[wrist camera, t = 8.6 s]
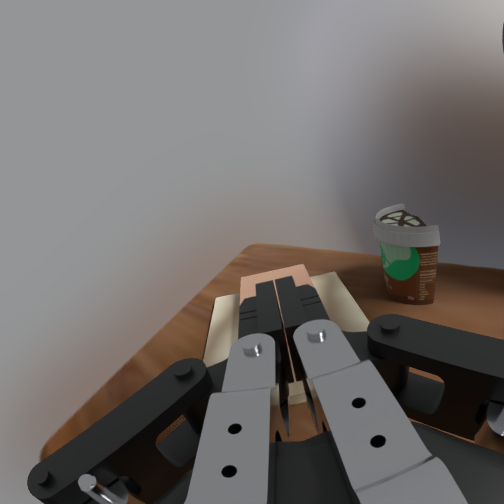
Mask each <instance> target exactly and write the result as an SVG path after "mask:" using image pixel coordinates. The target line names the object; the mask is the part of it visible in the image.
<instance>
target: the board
mask: <svg viewBox="0 0 504 504" xmlns="http://www.w3.org/2000/svg"><path fill="white" fill-rule="evenodd" d="M310 279H311V281H312V283H313V285H314V287H315V288H316V291H317V293H318V295H319V297H320V299H321V301H322V303H323V305H324V307H325V310H326V312H327V314H328V316H329V318H330V321H332V322H334V323H336V324H337V325H338V327H339V328H340V330H342V331H347V332H362V331H367V327H368V325H369V323H370V322H369V321H368V319H367V318H366V316H365V315H364V313H363V312H362V311H361V309H360V308H359V306H358V305H357V303H356V302H355V300H354V299H353V297H352V296H351V294H350V293H349V292H348V290H347V289H346V287H345V286H344V284H343V283H342V282H341V280H340V279H339V277H338V276H337V274H336V273H335V272H330V273H326V274H322V275H318V276H314V277H310ZM239 306H240V293H237V294H232V295H227V296H222V297H218V298H216V300H215V305H214V310H213V315H212V320H211V324H210V329H209V334H208V339H207V344H206V349H205V354H204V360H203V362H204V363H205V365H206V367H209V366H212V365H214V364H217V363H219V362H222V361H224V360H225V359H227V358H228V357H229V352H230V348H231V346H232V345H233V344H234V343H235V342H236V341H237V340H238V328H239ZM287 346H288V343H287ZM288 351H289V346H288ZM289 356H290V361H291V367H292V372H293V377H294V382H293V383H289V384H288V385H289V399H290V405H293V404H298V403H302V402H307V401H306V397H305V392H304V387H303V382H302V381H297V382H296V378H295V373H294V369H293V364H292V360H291V355H290V351H289Z"/></svg>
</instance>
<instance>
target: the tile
mask: <svg viewBox="0 0 504 504" xmlns="http://www.w3.org/2000/svg"><path fill="white" fill-rule="evenodd" d="M291 275H292V277H293V279H294V282H295V285H296V287H297V286H301V285H305V284H309V285H310V286H312V287H314V285H313V283H312V281H311V279H310V277H309V275H308V272H307V270H306V268H305V266H304V264H300V265H296V266H291V267H287V268H283V269H278V270H274V271H269V272H265V273H260V274H256V275H251V276H246V277H242V278H241V289H240V305H241V303H242V302H243V300H244V299H245V298H249V297H253V296H256V288H255V284H257V283H262V282H266V281H270V280H273V282H274V286H275V290H276V295H277V299H278V294H277V289H276V284H275V279H279V278H283V277H287V276H291ZM314 288H315V287H314ZM321 302H322V301H321ZM278 303H279V299H278ZM279 308H280V304H279ZM324 308H325V307H324ZM280 312H281V309H280ZM281 316H282V314H281ZM282 321H283V319H282ZM283 325H284V324H283ZM284 330H285V329H284ZM285 336H286V333H285ZM286 341H287V338H286ZM287 343H288V342H287Z"/></svg>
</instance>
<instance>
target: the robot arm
mask: <svg viewBox="0 0 504 504" xmlns="http://www.w3.org/2000/svg"><path fill="white" fill-rule="evenodd" d="M503 51H504V24H503ZM275 284H276V289H277V294H278V299H279V303H278V299H277V295H276V290H275V286H274V282H273V280H270V281H266V282H262V283H257V284H255V288H256V296H253V297H249V298H245V299H244V300H243V302H242V303H241V305H240V306H239V328H238V340H237V341H236V342H235V343H234V344H233V345H232V346H231V348H230V352H229V357H228V358H227V359H225V360H224V361H222V362H219V363H217V364H214V365H212V366H209V367H206V365H205V363H204V362H203V361H201V360H199V359H195V358H189V359H184V360H180V361H178V362H176V363H174V364H172V365H171V366H170V367H168V368H167V369H166V370H165V371H163V372H162V373H161V374H160V375H158V376H157V377H156V378H154V379H153V380H152V381H151V382H149V383H148V384H147V385H145V386H144V387H143V388H142V389H140V390H139V391H138V392H136V393H135V394H134V395H132V396H131V397H130V398H128V399H127V400H126V401H125V402H123V403H122V404H121V405H119V406H118V407H117V408H115V409H114V410H113V411H111V412H110V413H109V414H107V415H106V416H104V417H103V418H102V419H100V420H99V421H98V422H96V423H95V424H94V425H92V426H91V427H89V428H88V429H87V430H85V431H84V432H83V433H81V434H80V435H78V436H77V437H76V438H74V439H73V440H71V441H70V442H69V443H67V444H66V445H64V446H63V447H62V448H60V449H59V450H57V451H56V452H54V453H53V454H51V455H50V456H49V457H47V458H46V459H44V460H43V461H41V462H40V463H38V464H37V465H36V466H35V467H34V468H33V469H32V470H31V472H30V474H29V476H28V481H27V485H28V489H29V491H30V493H31V494H32V495H33V496H35V497H36V498H37V499H38V500H40V501H41V502H42V503H44V504H504V340H502V339H497V338H493V337H489V336H484V335H480V334H476V333H471V332H467V331H463V330H459V329H454V328H450V327H446V326H442V325H438V324H434V323H430V322H426V321H421V320H417V319H413V318H409V317H405V316H402V315H396V314H388V315H383V316H380V317H377V318H375V319H374V320H372V321H371V322H370V323H369V325H368V327H367V331H362V332H347V331H342V330H340V328H339V327H338V325H337V324H336V323H334V322H332V321H330V318H329V316H328V314H327V312H326V310H325V308H324V305H323V303H322V302H321V299H320V297H319V295H318V293H317V291H316V288H314V287H312V286H310V285H309V284H305V285H301V286H297V287H296V285H295V282H294V279H293V277H292V275H291V276H287V277H283V278H279V279H275ZM279 304H280V308H279ZM280 309H281V312H280ZM281 314H282V316H281ZM282 319H283V321H282ZM283 324H284V325H283ZM284 329H285V330H284ZM285 333H286V336H285ZM286 338H287V341H286ZM287 342H288V346H289V351H290V355H291V360H292V364H293V369H294V373H295V378H296V382H297V381H302V382H303V387H304V392H305V397H306V401H307V404H308V407H309V410H310V413H311V416H312V419H313V422H314V425H315V428H316V431H317V434H318V435H317V436H314V437H312V438H310V439H307V440H305V441H300V442H292V433H291V410H290V399H289V385H288V384H289V383H293V382H294V377H293V372H292V367H291V361H290V356H289V351H288V346H287ZM409 367H412V368H415V369H418V370H422V371H425V372H428V373H431V374H434V375H437V376H439V377H440V378H441V379H442V380H443V381H444V383H442V382H439V381H435V380H432V379H429V378H426V377H423V376H420V375H417V374H414V373H411V372H409ZM182 414H183V415H184V417H185V418H186V420H185V421H184V422H183V423H182V424H181V425H180V426H179V427H178V428H176V429H175V430H174V431H173V432H172V433H171V434H170V435H168V436H167V437H166V438H165V439H164V440H163V441H161V442H160V443H159V444H158V445H156V444H155V442H156V438H157V437H158V435H159V434H160V433H161V432H162V431H164V430H165V429H166V428H167V427H168V426H169V425H171V424H172V423H173V422H174V421H175V420H176V419H177V418H179V417H180V416H181V415H182ZM407 417H408V418H411V419H413V420H416V421H419V422H421V423H424V424H427V425H429V426H432V427H435V428H437V429H440V430H443V431H446V432H449V433H452V434H455V435H458V436H461V437H464V438H467V439H470V440H473V441H475V444H474V443H471V442H468V441H465V440H463V439H460V438H457V437H455V436H452V435H450V434H447V433H444V432H442V431H439V430H437V429H434V428H432V427H429V426H427V425H424V424H420V423H416V422H410V421H409V419H408V418H407Z"/></svg>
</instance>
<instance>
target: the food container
mask: <svg viewBox="0 0 504 504" xmlns="http://www.w3.org/2000/svg"><path fill="white" fill-rule="evenodd" d="M373 234H374V236H375V237H376V238H377V239H378V240H379V241H380V247H381V254H382V261H383V269H384V277H385V285H386V292H387V294H388V295H389V296H390V297H391V298H393V299H394V300H396V301H399V302H402V303H405V304H411V305H425V304H431V303H433V300H434V292H435V282H436V270H437V254H438V253H437V252H438V245H440V234H439V231H438V225H433V226H426V225H425V224H424V223H423V222H422V220H421V219H420V218H419V217H417V216H414V215H410V214H409V213H407V212H406V211H405V208H404V204H398V205H395V206H391V207H388V208H385V209H383V210H381V211H379V212H378V213H377V215H376V219H375V221H374V230H373Z"/></svg>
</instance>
